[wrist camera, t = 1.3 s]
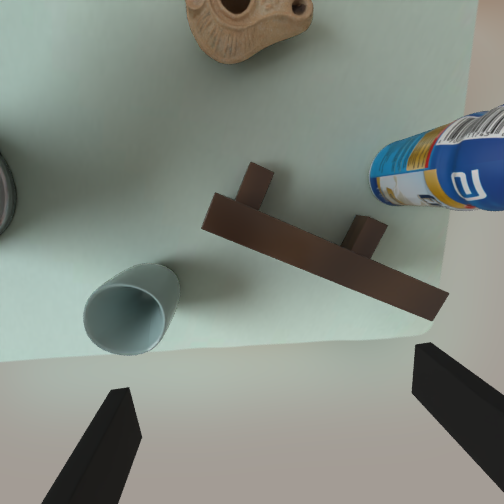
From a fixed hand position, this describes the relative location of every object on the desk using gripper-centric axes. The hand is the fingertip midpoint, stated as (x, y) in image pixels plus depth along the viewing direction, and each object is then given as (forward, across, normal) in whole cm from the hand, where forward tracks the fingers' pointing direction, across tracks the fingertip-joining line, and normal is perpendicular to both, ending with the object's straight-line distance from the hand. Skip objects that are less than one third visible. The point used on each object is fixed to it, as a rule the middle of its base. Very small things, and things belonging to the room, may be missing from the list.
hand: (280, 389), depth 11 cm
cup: (+23, -12, -2) cm, 26 cm away
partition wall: (+22, +8, +4) cm, 24 cm away
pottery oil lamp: (+23, +3, +26) cm, 35 cm away
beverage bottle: (+22, +21, +10) cm, 32 cm away
